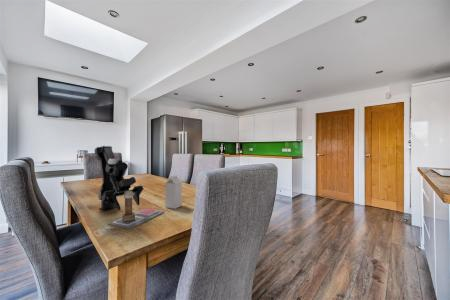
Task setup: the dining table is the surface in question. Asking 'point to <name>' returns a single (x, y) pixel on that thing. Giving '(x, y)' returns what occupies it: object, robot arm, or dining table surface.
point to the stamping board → (137, 218)
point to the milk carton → (173, 193)
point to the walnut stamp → (128, 207)
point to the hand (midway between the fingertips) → (129, 207)
